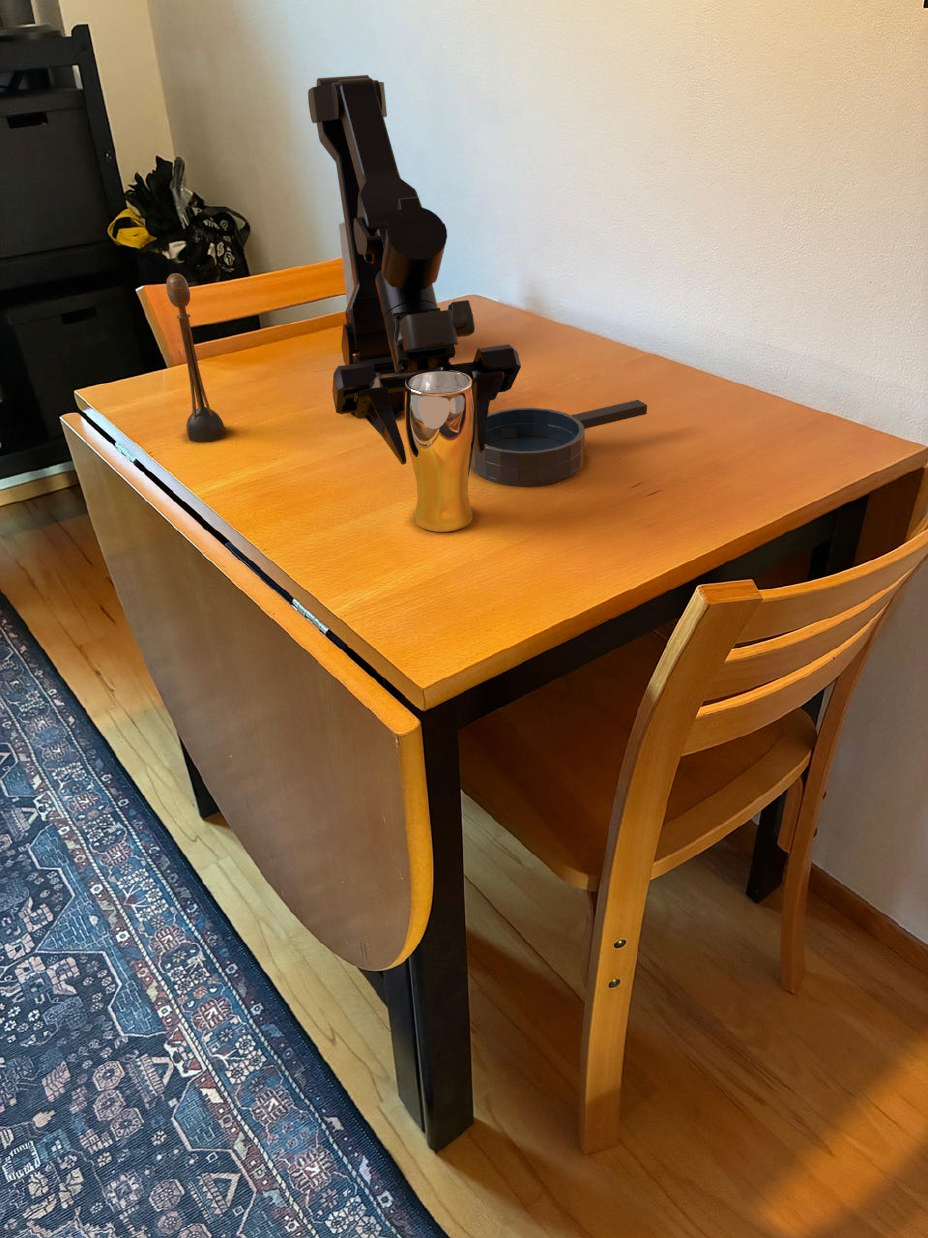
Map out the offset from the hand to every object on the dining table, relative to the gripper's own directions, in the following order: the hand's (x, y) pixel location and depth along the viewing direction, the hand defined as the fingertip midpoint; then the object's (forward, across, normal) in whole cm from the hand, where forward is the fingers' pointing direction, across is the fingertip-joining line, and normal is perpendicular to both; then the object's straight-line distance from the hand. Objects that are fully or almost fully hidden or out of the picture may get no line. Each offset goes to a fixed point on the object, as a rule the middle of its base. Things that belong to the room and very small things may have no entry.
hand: (443, 457), depth 97 cm
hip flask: (-35, +4, +46) cm, 58 cm away
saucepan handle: (-7, +24, +13) cm, 28 cm away
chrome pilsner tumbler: (+4, 0, +6) cm, 8 cm away
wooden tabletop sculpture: (-19, -23, +30) cm, 42 cm away
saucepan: (-3, +13, +14) cm, 19 cm away
